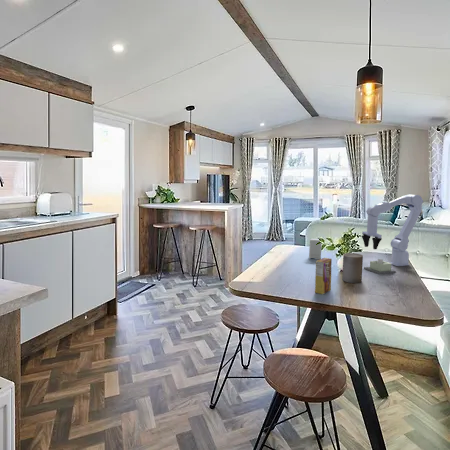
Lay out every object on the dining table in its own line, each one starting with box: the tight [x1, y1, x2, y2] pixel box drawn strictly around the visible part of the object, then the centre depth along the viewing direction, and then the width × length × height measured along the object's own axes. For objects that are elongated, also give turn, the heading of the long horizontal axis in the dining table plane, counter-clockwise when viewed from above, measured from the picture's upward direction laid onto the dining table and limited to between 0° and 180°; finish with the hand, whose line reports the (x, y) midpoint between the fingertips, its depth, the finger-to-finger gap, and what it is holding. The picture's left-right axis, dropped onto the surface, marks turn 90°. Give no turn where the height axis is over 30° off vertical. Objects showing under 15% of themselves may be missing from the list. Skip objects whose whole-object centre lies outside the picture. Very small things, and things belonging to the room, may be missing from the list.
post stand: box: [363, 258, 397, 275], centre depth 209 cm, size 12×12×6 cm
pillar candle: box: [341, 252, 364, 284], centre depth 188 cm, size 10×10×15 cm
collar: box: [369, 260, 392, 271], centre depth 209 cm, size 8×8×4 cm
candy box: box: [314, 257, 333, 295], centre depth 170 cm, size 9×4×15 cm, turn 140°
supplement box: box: [308, 238, 322, 260], centre depth 240 cm, size 7×7×13 cm
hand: (370, 247), depth 223 cm, fingers open, 7 cm apart
